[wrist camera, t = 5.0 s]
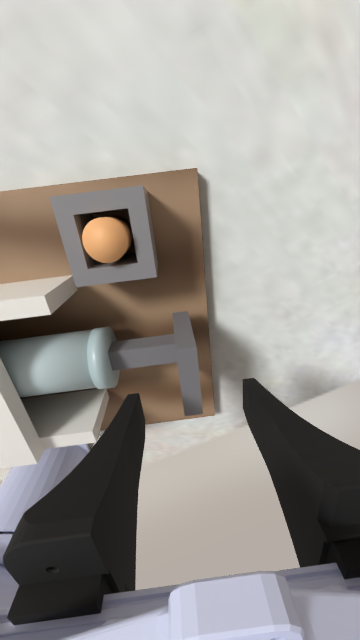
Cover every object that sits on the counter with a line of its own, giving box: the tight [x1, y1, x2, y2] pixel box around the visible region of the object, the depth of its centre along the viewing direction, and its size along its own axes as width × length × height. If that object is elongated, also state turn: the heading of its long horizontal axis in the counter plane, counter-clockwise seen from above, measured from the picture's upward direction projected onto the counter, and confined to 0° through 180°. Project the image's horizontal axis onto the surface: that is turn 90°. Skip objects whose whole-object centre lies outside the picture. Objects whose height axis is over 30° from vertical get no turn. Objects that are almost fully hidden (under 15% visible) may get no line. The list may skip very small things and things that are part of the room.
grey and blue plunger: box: [0, 311, 203, 416], centre depth 18 cm, size 5×17×7 cm, turn 96°
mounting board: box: [0, 168, 215, 430], centre depth 21 cm, size 22×22×1 cm
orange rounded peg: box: [82, 216, 134, 263], centre depth 15 cm, size 2×2×4 cm
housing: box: [0, 185, 158, 469], centre depth 17 cm, size 17×16×6 cm
